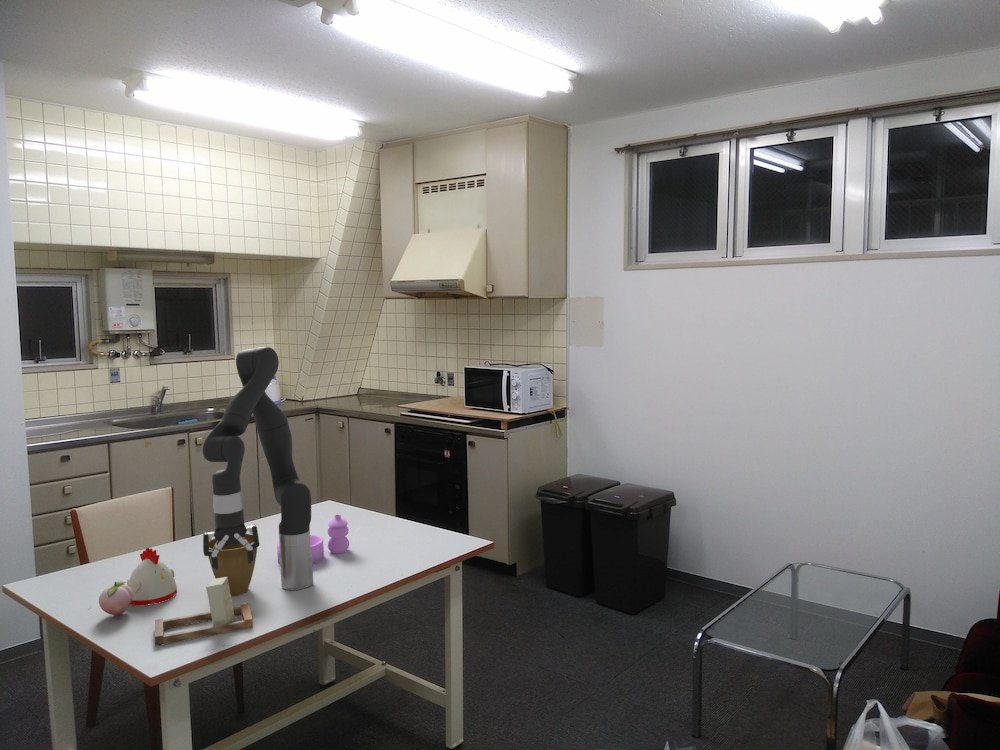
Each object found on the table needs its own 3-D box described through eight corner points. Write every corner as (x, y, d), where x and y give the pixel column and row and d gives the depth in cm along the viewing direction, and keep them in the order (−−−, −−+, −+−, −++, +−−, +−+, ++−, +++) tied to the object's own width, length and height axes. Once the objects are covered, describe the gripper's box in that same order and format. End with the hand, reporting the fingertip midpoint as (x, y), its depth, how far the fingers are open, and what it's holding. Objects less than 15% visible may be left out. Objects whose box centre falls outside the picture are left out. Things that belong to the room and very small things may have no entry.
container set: (286, 571, 241) (284, 532, 239) (272, 558, 253) (270, 521, 252) (357, 555, 255) (356, 518, 253) (340, 544, 267) (339, 508, 266)
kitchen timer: (145, 609, 212) (142, 559, 210) (116, 600, 218) (112, 551, 217) (186, 592, 224) (184, 545, 222) (157, 584, 231) (155, 538, 229)
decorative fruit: (105, 610, 211) (103, 577, 210) (136, 607, 213) (134, 574, 212) (95, 624, 202) (93, 589, 201) (127, 621, 204) (125, 586, 203)
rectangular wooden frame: (248, 611, 209) (247, 603, 209) (252, 627, 199) (252, 618, 198) (155, 628, 199) (154, 619, 198) (155, 646, 188) (154, 636, 188)
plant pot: (205, 588, 226) (202, 538, 225) (255, 579, 234) (252, 530, 232) (212, 605, 213) (209, 552, 212) (265, 595, 221) (262, 543, 219)
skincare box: (229, 627, 198) (222, 584, 196) (212, 630, 197) (205, 587, 196) (235, 617, 204) (228, 575, 203) (218, 620, 204) (211, 578, 202)
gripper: (253, 501, 205) (258, 557, 206) (199, 509, 198) (203, 566, 200) (257, 507, 198) (262, 565, 200) (201, 516, 192) (206, 575, 193)
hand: (233, 566), depth 200 cm, fingers open, 8 cm apart
